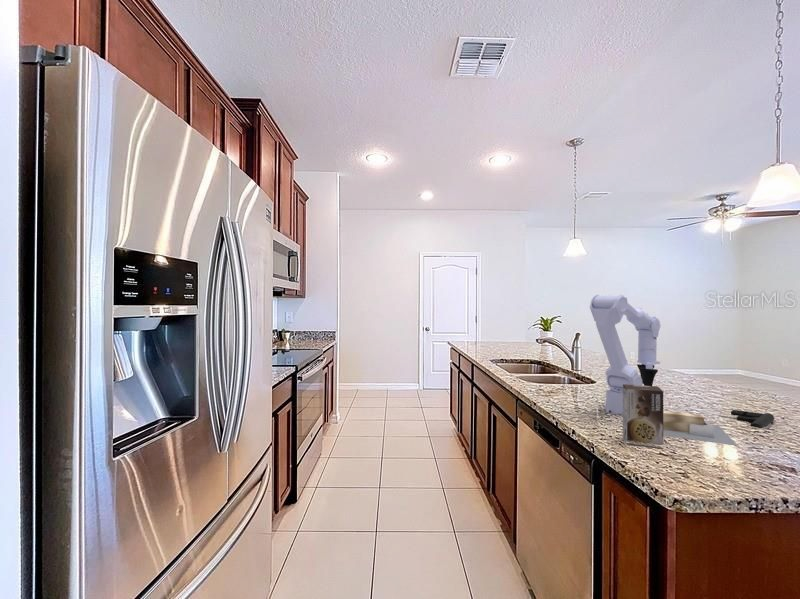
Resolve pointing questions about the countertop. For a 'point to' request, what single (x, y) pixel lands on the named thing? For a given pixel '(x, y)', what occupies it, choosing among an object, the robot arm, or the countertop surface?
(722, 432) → the board
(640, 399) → the coffee box
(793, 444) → the countertop surface
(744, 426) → the countertop surface
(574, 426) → the countertop surface
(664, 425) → the slat
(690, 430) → the end cap
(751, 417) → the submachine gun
